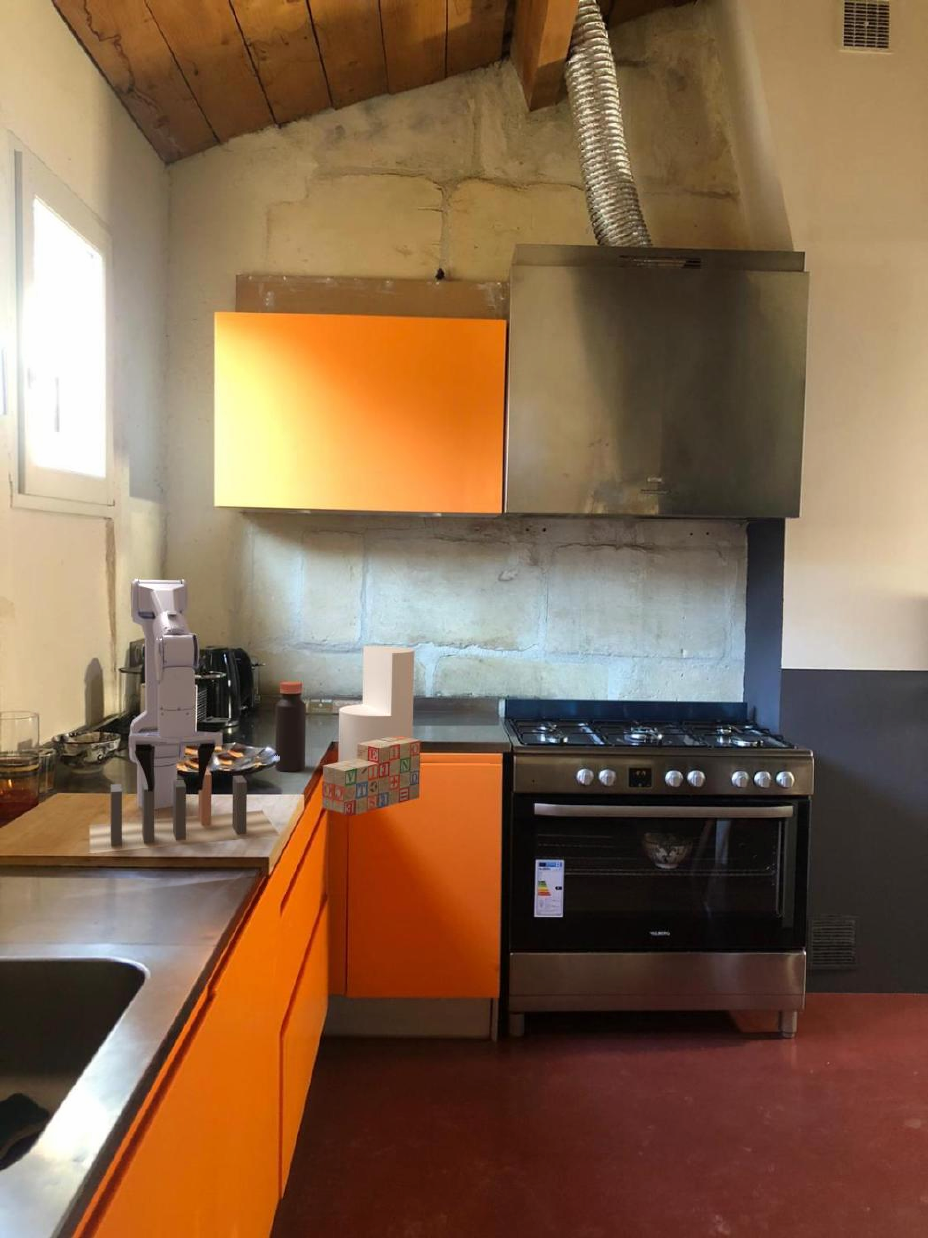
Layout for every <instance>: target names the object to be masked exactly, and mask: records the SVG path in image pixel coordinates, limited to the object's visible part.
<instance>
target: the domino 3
mask: <svg viewBox="0 0 928 1238" xmlns="http://www.w3.org/2000/svg"><path fill="white" fill-rule="evenodd" d="M172 808H173V809H172V818H173V833H174V836H175V839H176V840H186V817H187V786H186V783H185V781H184V779H177V780H173V806H172Z"/></svg>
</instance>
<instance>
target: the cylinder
mask: <svg viewBox="0 0 928 1238" xmlns="http://www.w3.org/2000/svg"><path fill="white" fill-rule="evenodd" d="M362 656H363V657H362V658H363V659H362V660H363V661H362V663H363V664H362V666H363V667H362V668H363V669H362V670H363V671H362V703H361V704H351V705H346V706H342V707H340V708H339V710H338V755H337V756H338V758H337V759H338V760H337V763H338V762H343V761H348V760H353V759H357V744H358V743H364V742H369V741H374V740H379V739H382V738H387V737H389V738H392V737H398V736H400V737H406V738H412V739H413V734H414V733H413V731H414V730H413V729H414V727H413V726H414V723H413V722H414V688H415V687H414V685H415V682H414V681H415V649H413V648H411V647H410V648H408V647H401V646H400V647H399V646H383V645H363V655H362Z"/></svg>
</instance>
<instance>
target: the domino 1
mask: <svg viewBox="0 0 928 1238" xmlns="http://www.w3.org/2000/svg"><path fill="white" fill-rule="evenodd" d="M122 822H123V789H122V784H121V783H117V784H115V783H114V784H110V823H111V847H112V846H122Z"/></svg>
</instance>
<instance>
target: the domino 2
mask: <svg viewBox="0 0 928 1238" xmlns="http://www.w3.org/2000/svg"><path fill="white" fill-rule="evenodd" d="M141 809H142V810H141V812H142V813H141V814H142V815H141V819H142V820H141V821H142V836H143V841H144V843H154V820H155V809H154V790H153V791H148V785H147V782H142V808H141Z"/></svg>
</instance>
